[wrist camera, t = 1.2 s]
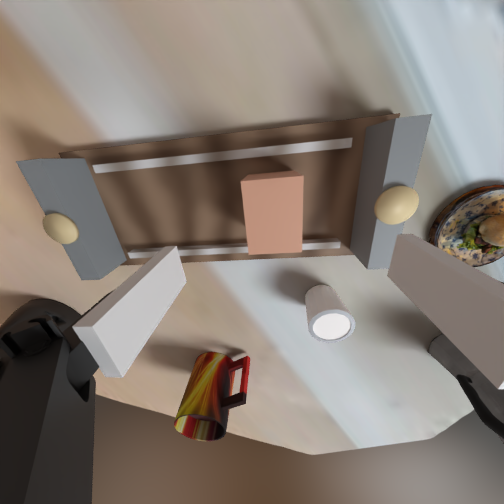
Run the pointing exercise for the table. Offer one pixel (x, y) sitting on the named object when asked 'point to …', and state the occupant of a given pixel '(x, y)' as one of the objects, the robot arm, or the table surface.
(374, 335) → the table surface
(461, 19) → the table surface
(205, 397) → the mug
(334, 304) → the white cup
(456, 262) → the robot arm
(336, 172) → the rail track
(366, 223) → the knobbed grey end panels
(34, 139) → the table surface
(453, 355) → the coffeepot
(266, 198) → the salmon pink box
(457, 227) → the burger
